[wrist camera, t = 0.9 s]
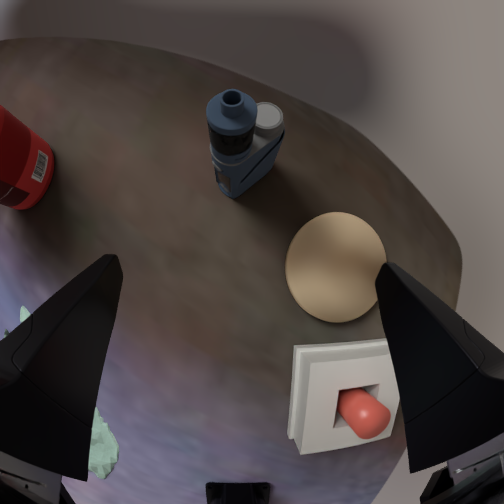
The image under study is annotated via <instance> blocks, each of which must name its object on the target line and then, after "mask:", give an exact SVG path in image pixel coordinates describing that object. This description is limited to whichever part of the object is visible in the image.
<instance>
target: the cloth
mask: <svg viewBox="0 0 504 504" xmlns="http://www.w3.org/2000/svg"><path fill="white" fill-rule="evenodd" d="M30 315H31V314H30V313H29V312H28V311H27V309H26V308H25V307H24V306H22V308H21V313H20V321H21V323H22V322H23V321H24V320H25V319H26V318H28V317H29V316H30ZM8 334H9V332H8V331H7V329H5V334H4V338H5V337H6V336H7V335H8ZM118 454H119V446H118V444H117V441H116V439H115V437H114V435H113V434H112V433H111V432H110V428H109V426H108V424H107V423H103V418H102V417H101V416H100V413H99V411H98V409H97V408H96V407H95V413H94V420H93V427H92V436H91V444H90V454H89V466H88V470H89V471H92V472H94V473H95V474H96V475H97V476H98V478H101V479H105V477H106V476H107V475H108V473H110V472H111V469H112V468H113V467H114V464H115V463H117V460H118Z"/></svg>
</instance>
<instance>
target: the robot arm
mask: <svg viewBox="0 0 504 504" xmlns="http://www.w3.org/2000/svg"><path fill="white" fill-rule="evenodd" d="M122 282H123V272H122V269H121V266H120V262H119V259H118V257H117V255H115V254H105V255H103V256H102V257H101V258H99V259H98V260H97V261H95V262H94V263H93V264H91V265H90V266H89V267H88V268H86V269H85V270H84V271H82V272H81V273H80V274H79V275H77V276H76V277H75V278H73V279H72V280H71V281H70V282H68V283H67V284H66V285H65V286H64V287H62V288H61V289H60V290H59V291H57V292H56V293H55V294H54V295H53V296H52V297H50V298H49V299H48V300H47V301H46V302H44V303H43V304H42V305H41V306H40V307H39V308H38V309H36V310H35V311H34V312H33V314H31V315H30V316H29V317H28V318H26V319H25V320H24V321H23V322H22V323H21V324H20V325H19V326H17V327H16V328H15V329H14V330H13V331H12V332H10V333H9V334H8V335H7V336H6V337H5V338H3V339H2V340H1V341H0V504H75V502H74V501H73V499H72V498H71V496H70V495H69V493H68V492H67V490H66V489H65V487H64V485H63V484H62V482H61V480H62V475H63V476H66V477H70V478H74V479H77V480H81V481H85V482H87V479H88V466H89V454H90V444H91V436H92V427H93V420H94V413H95V407H96V401H97V396H98V390H99V385H100V380H101V375H102V371H103V366H104V362H105V357H106V353H107V349H108V345H109V341H110V337H111V333H112V330H113V326H114V322H115V318H116V313H117V307H118V302H119V297H120V291H121V286H122ZM375 289H376V294H377V299H378V304H379V309H380V315H381V320H382V324H383V328H384V332H385V336H386V339H387V343H388V347H389V351H390V355H391V359H392V364H393V368H394V372H395V377H396V382H397V386H398V391H399V397H400V402H401V407H402V413H403V419H404V424H405V425H404V427H405V434H406V441H407V449H408V458H409V469H410V473H415V472H418V471H421V470H424V469H427V468H430V467H432V466H435V465H437V464H440V463H443V462H445V461H447V466H446V467H444V468H442V469H440V470H438V471H436V472H434V473H433V474H432V476H431V478H430V480H429V482H428V484H427V486H426V488H425V489H424V491H423V493H422V495H421V496H420V504H504V353H503V352H502V351H501V350H500V349H498V348H497V347H496V346H495V345H493V344H492V343H491V342H490V341H489V340H487V339H486V338H485V337H484V336H483V335H481V334H480V333H479V332H478V331H477V330H476V329H474V328H473V327H472V326H471V325H470V324H469V323H468V322H467V321H465V320H464V319H462V317H461V316H459V315H458V314H457V313H456V312H455V311H454V310H453V309H451V308H450V307H449V306H448V305H447V304H446V303H444V302H443V301H442V300H441V299H440V298H438V297H437V296H436V295H435V294H433V293H432V292H431V291H430V290H429V289H427V288H426V287H425V286H424V285H422V284H421V283H420V282H418V281H417V280H416V279H415V278H413V277H412V276H411V275H410V274H408V273H407V272H406V271H404V270H403V269H402V268H400V267H399V266H398V265H396V264H395V263H387V262H386V263H383V264H382V266H381V268H380V271H379V273H378V275H377V277H376V279H375ZM209 486H212V487H209ZM264 486H266V487H264ZM269 493H270V485H269V483H211V482H209V483H206V497H207V504H268V502H269Z"/></svg>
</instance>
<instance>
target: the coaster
mask: <svg viewBox="0 0 504 504" xmlns="http://www.w3.org/2000/svg"><path fill="white" fill-rule="evenodd" d="M386 262H387V260H386V254H385V250H384V247H383V245H382V242H381V240H380V238H379V237H378V235H377V234H376V232H375V231H374V230H373V229H372V228H371V227H370V225H368V224H367V223H366V222H365V221H363V220H362V219H360V218H358V217H356V216H354V215H351V214H348V213H342V212H332V213H326V214H323V215H320V216H318V217H315V218H314V219H312V220H311V221H309V222H308V223H306V224H305V225H304V226H303V227H301V228H300V230H299V231H298V232H297V233H296V234H295V236H294V237H293V239H292V241H291V243H290V245H289V247H288V250H287V254H286V258H285V276H286V282H287V285H288V288H289V290H290V292H291V295H292V296H293V298H294V299H295V301H296V302H297V303H298V305H299V306H300V307H301V308H302V309H304V310H305V311H306V312H308V313H309V314H311V315H313V316H315V317H317V318H319V319H321V320H324V321H328V322H346V321H350V320H353V319H355V318H358V317H360V316H361V315H363V314H364V313H366V312H367V311H368V310H369V309H370V308H371V307H372V306H373V305H374V304H375V302H376V301H377V300H378V299H377V294H376V289H375V279H376V277H377V275H378V273H379V271H380V268H381V266H382V264H383V263H386Z"/></svg>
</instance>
